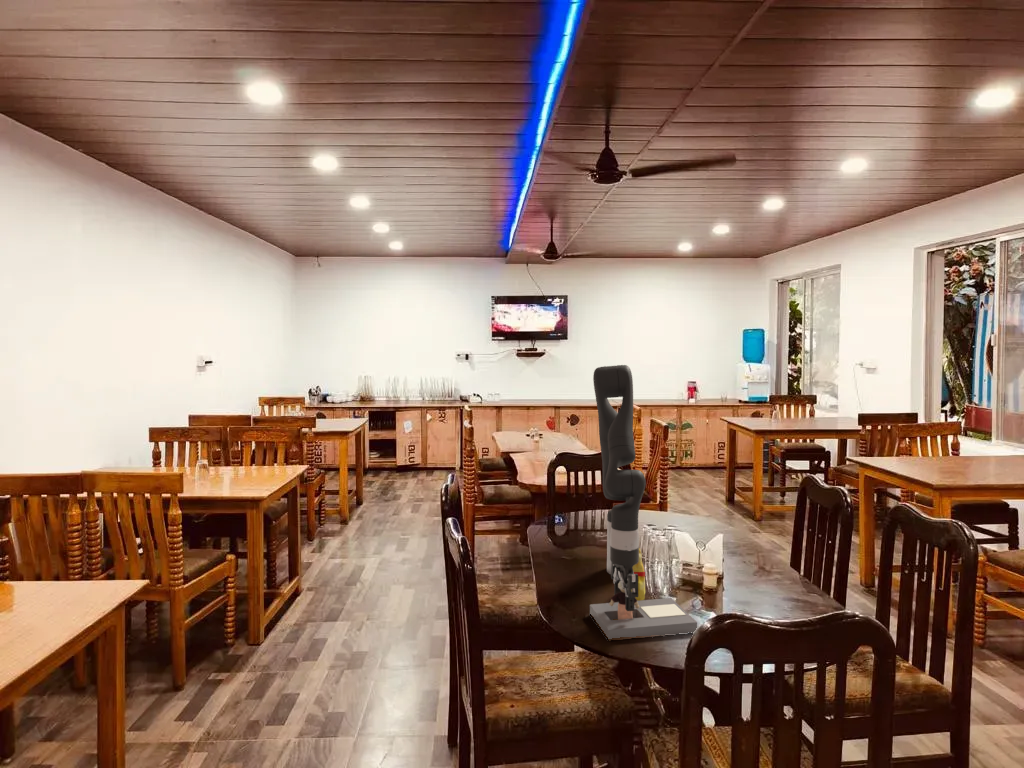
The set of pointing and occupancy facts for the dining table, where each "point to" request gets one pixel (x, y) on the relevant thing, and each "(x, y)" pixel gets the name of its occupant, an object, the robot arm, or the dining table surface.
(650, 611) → the pocket holder
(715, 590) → the dining table surface
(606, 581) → the dining table surface
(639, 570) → the chocolate bunny
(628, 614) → the grandmother figurine
